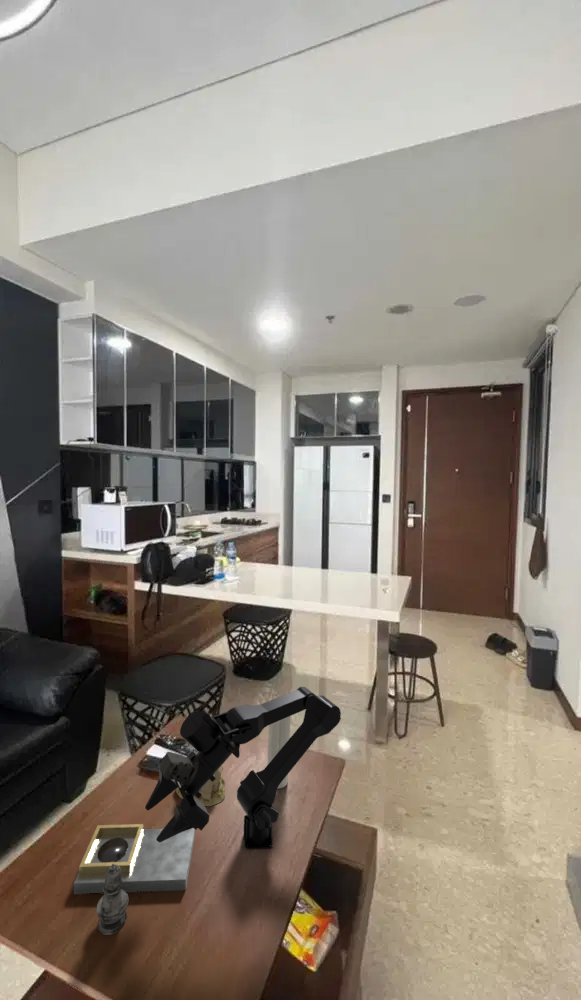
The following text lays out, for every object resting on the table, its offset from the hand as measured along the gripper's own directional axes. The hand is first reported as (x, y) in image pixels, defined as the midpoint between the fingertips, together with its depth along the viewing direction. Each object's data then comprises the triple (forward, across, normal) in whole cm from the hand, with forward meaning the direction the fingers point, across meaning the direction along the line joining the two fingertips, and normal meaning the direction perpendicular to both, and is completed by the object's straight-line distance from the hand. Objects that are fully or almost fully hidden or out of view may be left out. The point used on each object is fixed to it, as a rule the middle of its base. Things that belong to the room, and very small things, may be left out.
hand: (151, 824), depth 90 cm
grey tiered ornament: (+16, +2, +7) cm, 17 cm away
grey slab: (+10, -7, +11) cm, 17 cm away
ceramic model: (-5, -21, +24) cm, 32 cm away
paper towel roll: (-21, -14, +36) cm, 44 cm away
